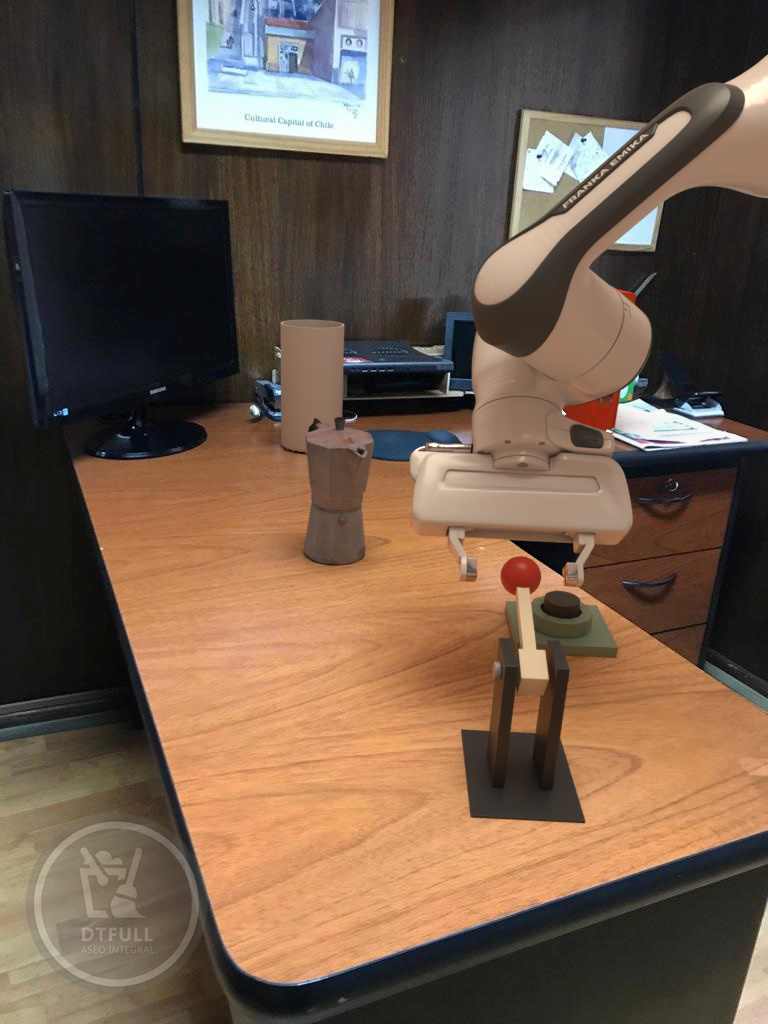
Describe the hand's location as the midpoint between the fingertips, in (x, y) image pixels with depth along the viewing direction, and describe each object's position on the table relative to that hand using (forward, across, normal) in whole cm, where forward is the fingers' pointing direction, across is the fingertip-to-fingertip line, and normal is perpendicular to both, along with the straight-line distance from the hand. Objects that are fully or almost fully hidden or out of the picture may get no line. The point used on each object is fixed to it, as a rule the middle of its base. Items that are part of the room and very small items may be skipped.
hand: (520, 582), depth 69 cm
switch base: (+17, 0, +4) cm, 17 cm away
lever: (+5, 0, 0) cm, 5 cm away
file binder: (-77, +35, +98) cm, 129 cm away
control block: (-1, +8, +22) cm, 23 cm away
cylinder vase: (-55, -29, +76) cm, 98 cm away
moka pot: (-16, -20, +38) cm, 46 cm away
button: (-4, +8, +19) cm, 21 cm away
